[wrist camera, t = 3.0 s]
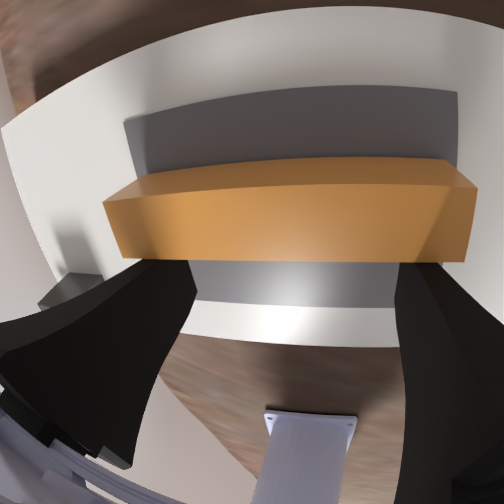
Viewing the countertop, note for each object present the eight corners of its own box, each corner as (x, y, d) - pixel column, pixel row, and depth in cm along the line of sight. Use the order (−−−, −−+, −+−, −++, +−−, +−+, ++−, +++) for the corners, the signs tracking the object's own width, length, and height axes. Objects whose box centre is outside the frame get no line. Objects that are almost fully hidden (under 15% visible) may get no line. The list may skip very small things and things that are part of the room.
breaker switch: (440, 220, 8) (464, 262, 6) (158, 223, 11) (122, 258, 9) (445, 159, 7) (478, 188, 5) (143, 174, 10) (102, 202, 8)
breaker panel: (539, 297, 11) (558, 332, 9) (98, 286, 20) (73, 313, 17) (577, 76, 4) (615, 86, 2) (37, 115, 13) (-1, 129, 11)
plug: (101, 274, 14) (67, 311, 12) (122, 317, 16) (95, 354, 13) (56, 270, 15) (26, 300, 13) (76, 308, 17) (50, 338, 15)
